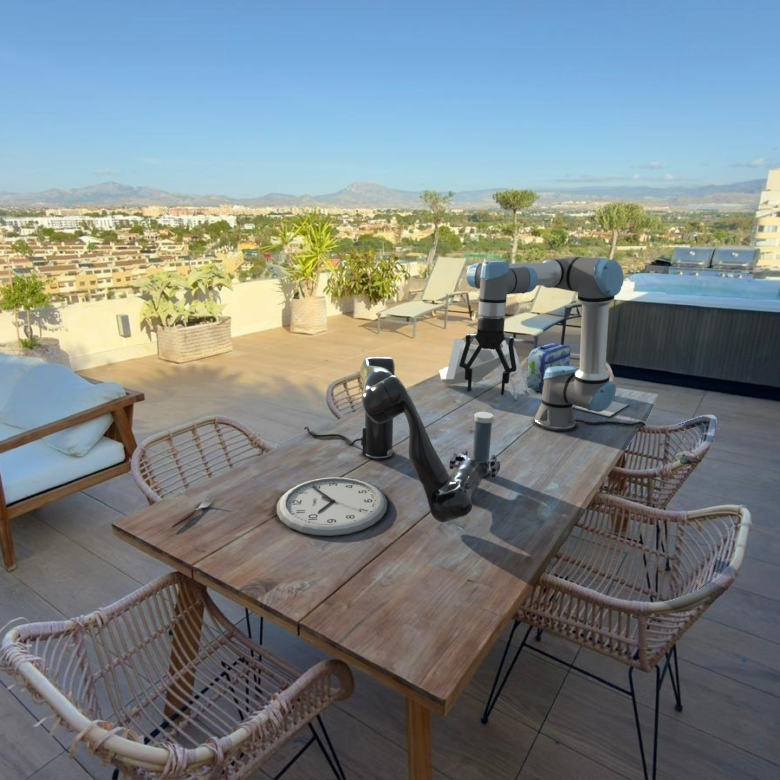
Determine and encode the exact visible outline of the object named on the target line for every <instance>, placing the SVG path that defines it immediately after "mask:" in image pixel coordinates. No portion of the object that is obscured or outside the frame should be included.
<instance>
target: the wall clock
mask: <svg viewBox="0 0 780 780" xmlns="http://www.w3.org/2000/svg"><path fill="white" fill-rule="evenodd" d="M387 509H388V500H387V498H386V496H385V494H384V493H383V492H382V491H381V490H380V489H379V488H377V487H376V486H374V485H372V484H371V483H369V482H365V481H362V480H359V479H355V478H349V477H338V476H337V477H335V476H333V477H332V476H331V477H322V478H317V479H312V480H307V481H305V482H302V483H299V484H297V485H295V486H293V487H292V488H290V489H288V490H287V491H286V492H285V493H284V494H283V495H281V496H280V498H279V499H278V502H277V503H276V515H277V517H278V518H279V520H280V521H281V522H282V523H283V524H285V525H286V526H287V527H288V528H290V529H293V530H295V531H297V532H299V533H303V534H308V535H312V536H327V537H328V536H329V537H331V536H332V537H333V536H342V535H350V534H352V533H356V532H361V531H363V530H366V529H368V528H369V527H372V526H373V525H375V524H376V523H378V522H379V521H380V520H381V519H382V518H383V517H384V516H385V514H386V512H387Z"/></svg>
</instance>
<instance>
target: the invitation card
mask: <svg viewBox="0 0 780 780" xmlns="http://www.w3.org/2000/svg"><path fill="white" fill-rule="evenodd" d="M628 406H629V404H627V403H623V402H618V401H614V400H613V401H612V402H611V404H610V405H609V406H608V408H606V409H605V410H604V411H601V412H596V411H592V410H588V409H585V408H582V407H579V406H576V405H575V406H574V407H573V409H575V410H581V411H584V412H587V413H593V414H596V415H600V416H604V417H608V418H609V417H611V416H613V415H614V414H616V413H617V412H619V411H621V410H623V409H624V408H626V407H628Z"/></svg>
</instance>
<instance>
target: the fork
mask: <svg viewBox="0 0 780 780" xmlns="http://www.w3.org/2000/svg"><path fill="white" fill-rule="evenodd" d="M216 495H217V494H212V493H208V494H207V495H206V497H205V498H204V499H203V501H202V502H201V503H200V505H198V507H197V508H196V509H193V510H192V511H190V512H188V513H187V514H185V515H183V517H181V518H180V519H179V520H178V521H176V522H175V523H174V524H173V525H172V526H171V529H173V528H175V527H176V526H178V525H179V524H181V523H183V522H184V521H186V520H188V519H189V518H191V517H192V516H193V515H194V514H195V513H197V511H198V510H200V509H207V508H208V507H210V505H211V504H212V502H213V501H214V499H215V497H216Z"/></svg>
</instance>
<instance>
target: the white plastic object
mask: <svg viewBox="0 0 780 780" xmlns="http://www.w3.org/2000/svg"><path fill="white" fill-rule="evenodd" d="M504 335H505V336H506V334H505V333H504ZM465 344H466V341H465V340H464V339H463V338H460V339H458V338H454V340H453V344H452V349H451V353H450V357H449V362H448V366H446V367H444V368H442V369H440V370H439V371H438V372H439V376H440V381H442V383H443V384H444V385H445V386H449V385H458V384H468V380H465V369H464V368H462V367H460V366H459V364H460V361H461V357H462V354H463V351H464V348H465ZM501 345H502V347H501V348H502V351H503V354H504V356H505V358H506V361H507V362H508V361H510V354H509V348H508V344H506V341H505V340H504V341H503V342H502V343H501ZM477 347H478V345H473V346H470V347H469V350H468V354H467V357H466V360H465V363H466V364H467V363H468V362H469V360H470V358H471V357H472V355H473V354H474V352H475V350H476V349H477ZM513 348H514V354H515V360H516V367H517V368H516V372H517V376H518V380H519V382H520V385H521V389H522V391H523V393H524V395H525V396H526V397H528V396H531V395H530V389H529V388H528V387H527V384H526V381H527V380H526V378H525V375H524V371H523V369H522V368H523V367H522V366H521V362H520V359H519V355H518V352H517V349H516V347H515V346H514V345H513ZM500 366H502V370H503V371H505V370H504V367H503V365H502V363H501V360H500V358H499V356H498V354H497V352H496V350H495V349H494V350H493V349H483V348H482V349H481V350H480V352H479V354H478V355H477V357H476V358H475V360H474V362H473V363H472V365H471V367H470V368H473V369H472V383H473V384H477V383H480V382H482V381H484V378H485V377H486V376H487V375H489V374H490V373H492V372H494V371H495V370H496V369H497V368H499V367H500ZM507 386H508V390H509V393H510V394H511V395H512V397H513V398H514V399H515V400H517V392H516V391H517V390H516V388H515V385H514V381H513V378H512V375H511V374H510V376H509V383H508V384H507Z"/></svg>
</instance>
